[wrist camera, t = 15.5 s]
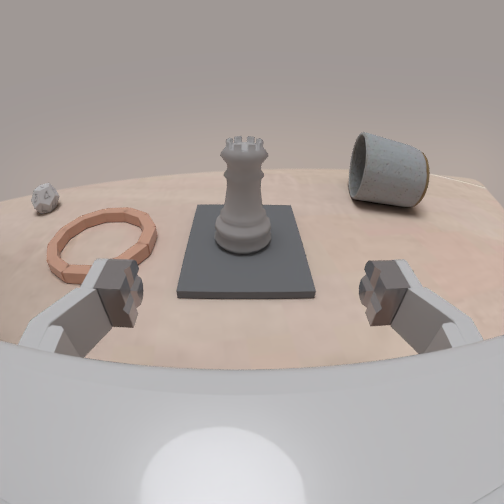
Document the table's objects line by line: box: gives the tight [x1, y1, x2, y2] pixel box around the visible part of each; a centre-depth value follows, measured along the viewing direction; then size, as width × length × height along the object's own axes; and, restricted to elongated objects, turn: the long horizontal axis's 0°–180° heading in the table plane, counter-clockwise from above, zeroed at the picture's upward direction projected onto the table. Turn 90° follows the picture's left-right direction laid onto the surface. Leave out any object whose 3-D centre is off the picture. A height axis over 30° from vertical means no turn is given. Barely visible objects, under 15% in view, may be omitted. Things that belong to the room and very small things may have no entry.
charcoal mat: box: [177, 205, 316, 299], centre depth 24 cm, size 9×12×1 cm
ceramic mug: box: [349, 132, 430, 207], centre depth 32 cm, size 11×8×8 cm
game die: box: [31, 183, 59, 214], centre depth 29 cm, size 4×4×3 cm
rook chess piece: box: [214, 136, 271, 254], centre depth 22 cm, size 4×4×8 cm
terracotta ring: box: [47, 207, 157, 284], centre depth 23 cm, size 10×10×1 cm
